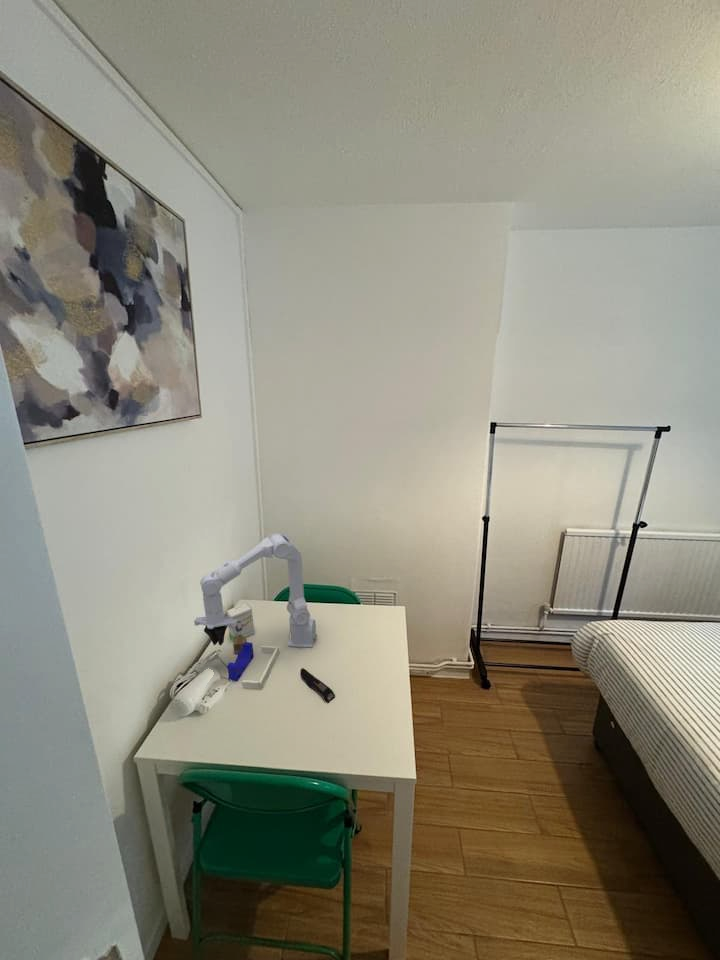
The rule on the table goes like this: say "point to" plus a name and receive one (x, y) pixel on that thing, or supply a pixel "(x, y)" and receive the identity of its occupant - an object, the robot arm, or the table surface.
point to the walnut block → (239, 644)
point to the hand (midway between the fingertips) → (218, 643)
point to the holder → (260, 683)
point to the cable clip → (241, 662)
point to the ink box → (241, 621)
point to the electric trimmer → (317, 685)
